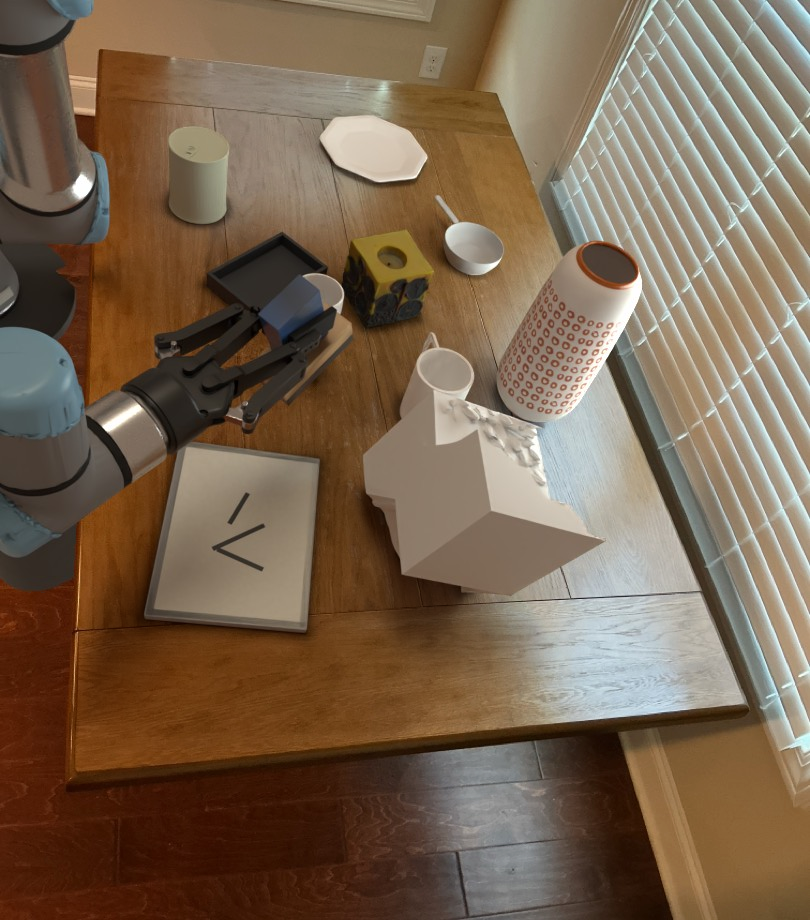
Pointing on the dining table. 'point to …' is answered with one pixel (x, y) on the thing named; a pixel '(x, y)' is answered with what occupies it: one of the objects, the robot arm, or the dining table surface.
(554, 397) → the patterned vase
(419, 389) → the cup
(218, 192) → the can
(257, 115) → the dining table surface
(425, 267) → the candle
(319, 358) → the blue block with base
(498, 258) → the small pan
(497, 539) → the tissue box
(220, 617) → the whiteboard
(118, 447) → the robot arm
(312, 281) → the drinking glass
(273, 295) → the tray
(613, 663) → the dining table surface
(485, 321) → the dining table surface
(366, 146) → the plate
